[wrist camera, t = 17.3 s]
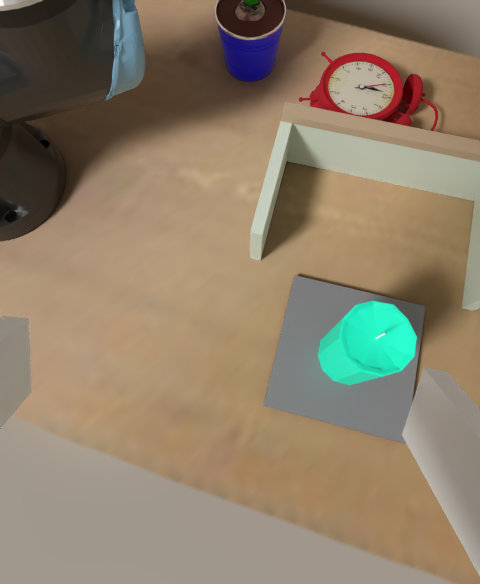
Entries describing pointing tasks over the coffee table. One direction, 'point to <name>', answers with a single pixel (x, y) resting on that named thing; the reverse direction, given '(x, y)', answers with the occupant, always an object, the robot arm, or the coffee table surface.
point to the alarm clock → (367, 89)
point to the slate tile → (317, 384)
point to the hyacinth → (250, 35)
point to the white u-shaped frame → (375, 167)
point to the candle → (367, 344)
